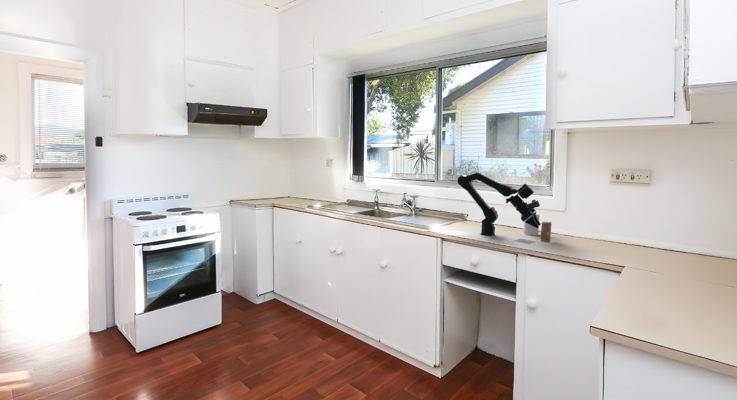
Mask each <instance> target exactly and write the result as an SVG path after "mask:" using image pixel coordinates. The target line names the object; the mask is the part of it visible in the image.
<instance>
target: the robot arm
mask: <svg viewBox="0 0 737 400" xmlns="http://www.w3.org/2000/svg"><path fill="white" fill-rule="evenodd" d="M456 181H457V184H458V185H459V186H460V187H461V188H462V189H463V190H465V191H466V192H467V193H468V194H469V196H471V198H472V199H473V201H474V202H475V203H476V204H477V205H478V207H479V209H480V210H481V211H482V214H483V217H484V218H483V220H481V230H480V231H481V232H480V233H479V235H481V236H483V235H484V236H489V237H492V236H495V233H496V227H495V222H496V221H497V220H498V218H499V214H498V211H497V210H496V209H495V207H494V206H491V207H490V206H489V205H488V204H487V202H486V201H485V200H484V198H483V197H482V196H481V194H480V193H479V192H478V191H477V190H476V189H475V187H474V185H473V182H472V181H479V182H481V183H483V184H485V185H486V186H489V187H490V188H492V189H494V190H495V191H497V192H498V193H499V194H501V195H502V197H506V198H505V200H506V201H505V204H508V203H510V204H511V205H512V206H513V207H514V208H515V210H516V211H518V212H519V214H520V215H521V216H520V220H521V221H522V222H523V223H524V221H525V220H526V221H525V223H527V224H530V225H532V226H534V227H536V228H540V226H542V223H541V222H540V219H539V220H538V219H537V217H536V213H537V210H536V209H535V208H539V207H540V206H541V204H540V202H539V200H536V199H531V202H530V203H528V202H525V201H524V199H525V200H527V199H528V198H530V197H531V196H532V195H533V194H535V191H534V189H533V188H532V187H530V186H529V185H528V184H527V183H524V184H523V185H522V186H520V188H518V189H517V188H513V187H512V186H510V185H508V184H505V183H501V182H498V181H496V180H495V179H492V178H490V177H489V176H486V175H484V174H482V173H481V172H474V173H472V174H469V175H465V174H464V175H460V176H458V177H457V180H456ZM508 197H509V198H508ZM538 225H539V226H538Z"/></svg>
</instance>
